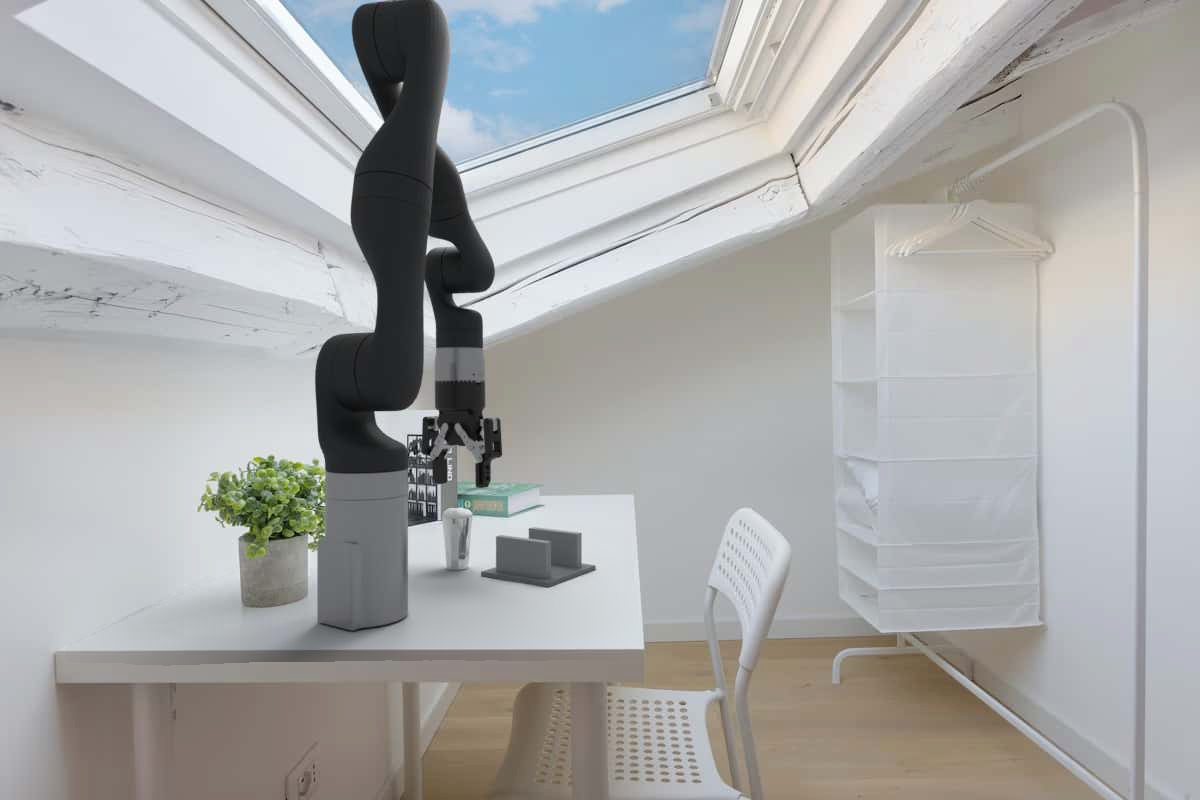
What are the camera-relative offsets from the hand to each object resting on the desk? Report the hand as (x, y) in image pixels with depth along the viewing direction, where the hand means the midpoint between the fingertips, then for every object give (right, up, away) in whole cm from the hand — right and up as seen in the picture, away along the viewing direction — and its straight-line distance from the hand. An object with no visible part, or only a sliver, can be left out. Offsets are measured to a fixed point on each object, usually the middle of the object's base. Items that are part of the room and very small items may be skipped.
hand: (461, 485), depth 108 cm
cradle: (+12, -12, -3) cm, 18 cm away
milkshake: (0, -13, 0) cm, 13 cm away
